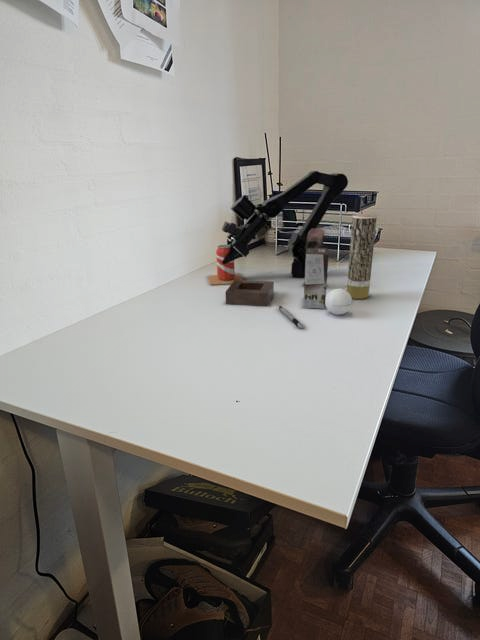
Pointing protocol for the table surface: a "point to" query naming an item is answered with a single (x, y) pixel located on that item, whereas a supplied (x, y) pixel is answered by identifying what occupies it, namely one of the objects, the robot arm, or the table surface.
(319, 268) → the coffee box
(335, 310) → the seamed sphere
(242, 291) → the stand
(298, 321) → the pen
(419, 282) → the table surface
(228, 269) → the beverage can
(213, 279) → the cork mat
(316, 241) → the statue
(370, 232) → the bark patterned cylinder
